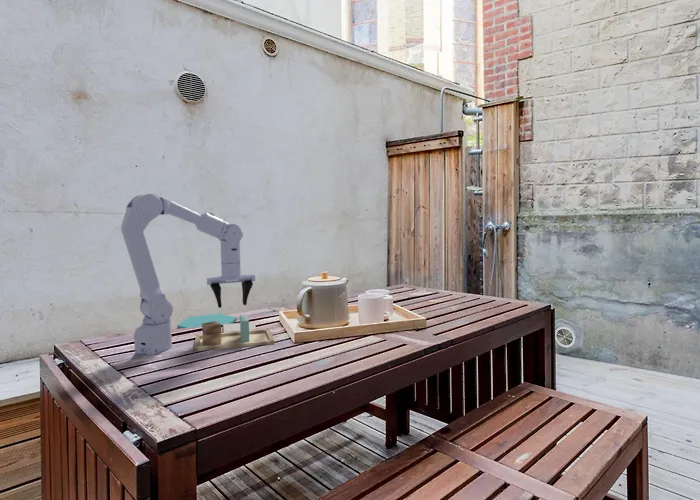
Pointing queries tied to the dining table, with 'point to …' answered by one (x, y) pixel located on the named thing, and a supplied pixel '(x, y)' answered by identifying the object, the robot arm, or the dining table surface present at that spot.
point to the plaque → (206, 320)
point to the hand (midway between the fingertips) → (232, 305)
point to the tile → (237, 327)
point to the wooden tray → (236, 340)
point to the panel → (244, 328)
